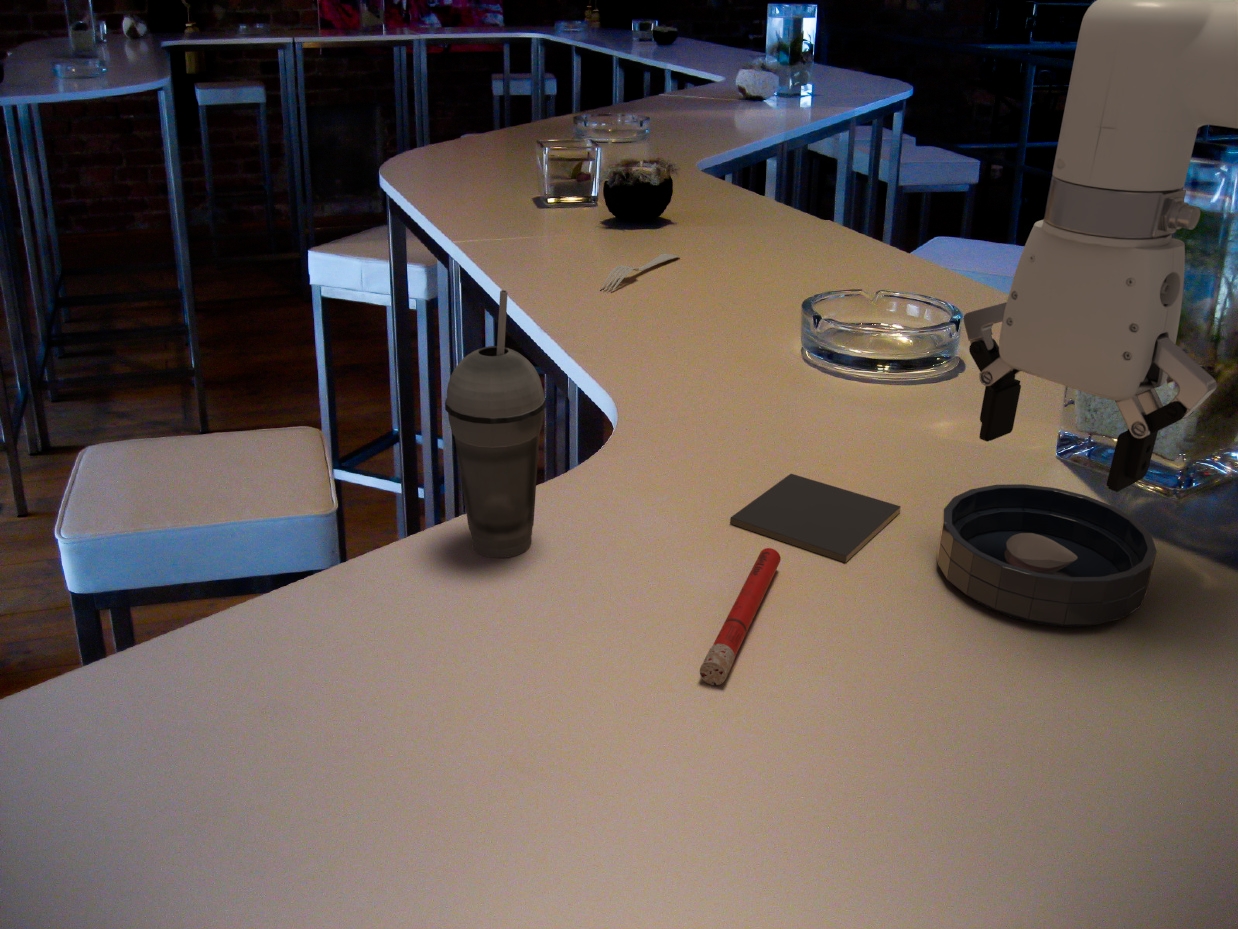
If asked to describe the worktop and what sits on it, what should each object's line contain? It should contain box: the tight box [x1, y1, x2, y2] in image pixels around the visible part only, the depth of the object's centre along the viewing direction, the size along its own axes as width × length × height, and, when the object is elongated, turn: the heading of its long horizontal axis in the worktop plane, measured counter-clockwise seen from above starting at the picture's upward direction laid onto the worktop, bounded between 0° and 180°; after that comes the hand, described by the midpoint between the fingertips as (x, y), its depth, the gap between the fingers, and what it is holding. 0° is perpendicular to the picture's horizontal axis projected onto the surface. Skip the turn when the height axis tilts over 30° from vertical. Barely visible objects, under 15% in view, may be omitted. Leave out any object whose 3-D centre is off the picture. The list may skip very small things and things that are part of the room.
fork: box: [600, 253, 681, 292], centre depth 151 cm, size 3×21×3 cm, turn 152°
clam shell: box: [1005, 533, 1078, 574], centre depth 78 cm, size 4×5×2 cm
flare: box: [699, 547, 782, 686], centre depth 73 cm, size 2×15×2 cm, turn 159°
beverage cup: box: [444, 289, 547, 559], centre depth 78 cm, size 7×7×20 cm
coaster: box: [729, 473, 901, 564], centre depth 87 cm, size 10×10×1 cm
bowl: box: [936, 483, 1158, 628], centre depth 78 cm, size 14×14×4 cm
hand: (1056, 459), depth 75 cm, fingers open, 9 cm apart
